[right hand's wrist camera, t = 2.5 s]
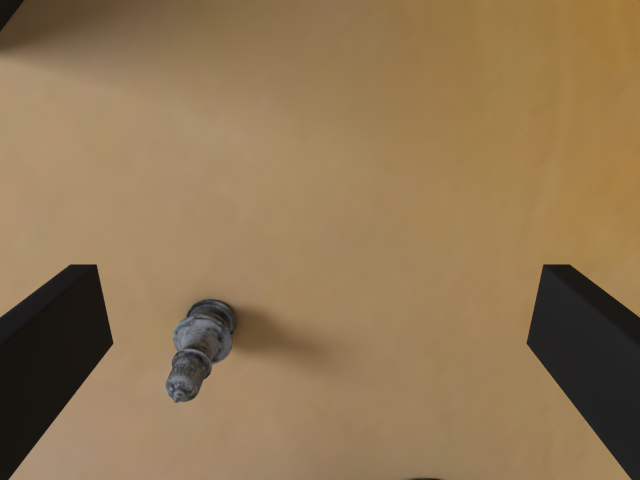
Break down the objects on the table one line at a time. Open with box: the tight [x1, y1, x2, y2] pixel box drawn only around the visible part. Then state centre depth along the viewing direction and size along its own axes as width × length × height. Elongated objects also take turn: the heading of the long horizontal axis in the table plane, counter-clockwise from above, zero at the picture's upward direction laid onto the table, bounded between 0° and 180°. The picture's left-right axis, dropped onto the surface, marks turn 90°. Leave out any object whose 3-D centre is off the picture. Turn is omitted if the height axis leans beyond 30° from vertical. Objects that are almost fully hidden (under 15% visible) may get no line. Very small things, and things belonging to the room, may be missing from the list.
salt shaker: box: [166, 300, 236, 403], centre depth 40 cm, size 6×6×12 cm
